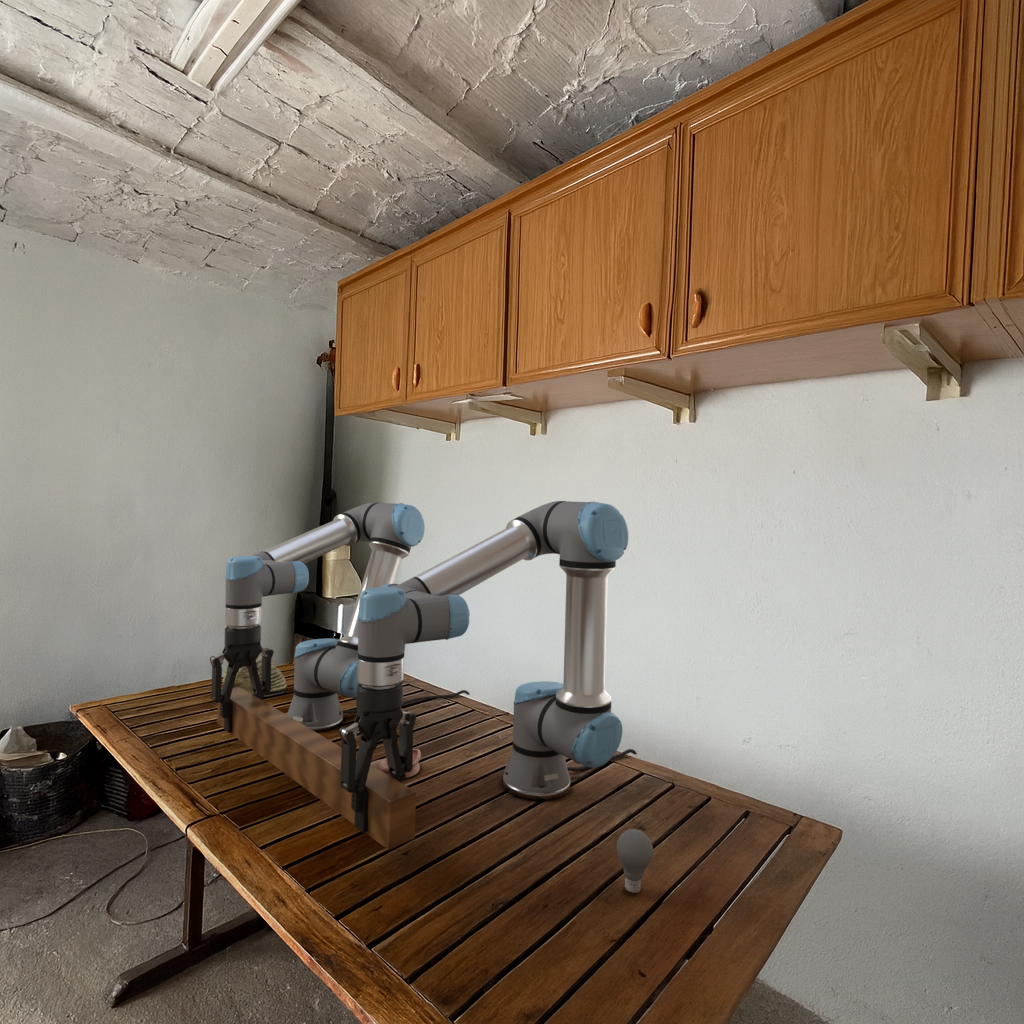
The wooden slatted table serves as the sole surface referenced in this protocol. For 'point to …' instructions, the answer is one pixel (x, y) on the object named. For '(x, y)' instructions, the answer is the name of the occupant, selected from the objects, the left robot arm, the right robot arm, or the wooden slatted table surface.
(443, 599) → the right robot arm
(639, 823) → the wooden slatted table surface
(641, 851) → the light bulb
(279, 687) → the fossil
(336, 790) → the bar
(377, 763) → the anatomical model
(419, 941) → the wooden slatted table surface
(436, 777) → the wooden slatted table surface
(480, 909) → the wooden slatted table surface
